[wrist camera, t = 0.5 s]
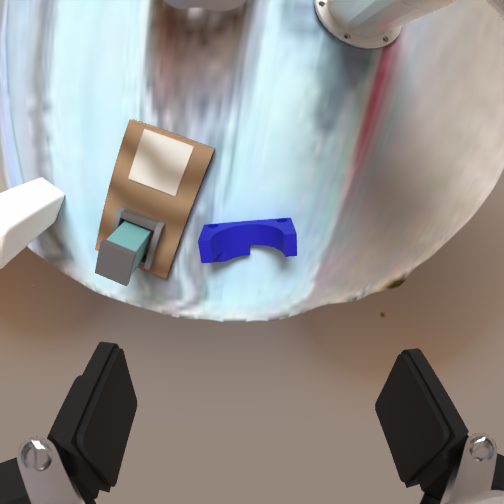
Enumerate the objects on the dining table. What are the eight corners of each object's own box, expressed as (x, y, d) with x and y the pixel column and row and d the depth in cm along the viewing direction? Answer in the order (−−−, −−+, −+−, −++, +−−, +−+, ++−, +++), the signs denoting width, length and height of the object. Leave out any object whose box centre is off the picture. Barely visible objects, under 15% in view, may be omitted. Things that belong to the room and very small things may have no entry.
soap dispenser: (40, 172, 39) (-61, 223, 19) (69, 193, 40) (-29, 257, 20) (29, 205, 41) (-62, 266, 21) (56, 226, 43) (-31, 299, 23)
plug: (127, 216, 41) (100, 242, 32) (155, 227, 41) (134, 255, 33) (120, 242, 42) (94, 272, 34) (147, 253, 43) (126, 286, 35)
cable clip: (208, 253, 45) (203, 273, 40) (204, 224, 43) (198, 241, 38) (291, 246, 45) (297, 266, 39) (290, 217, 43) (296, 233, 37)
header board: (133, 119, 36) (123, 120, 33) (215, 148, 38) (211, 152, 35) (99, 245, 44) (89, 255, 41) (168, 273, 46) (162, 285, 43)
